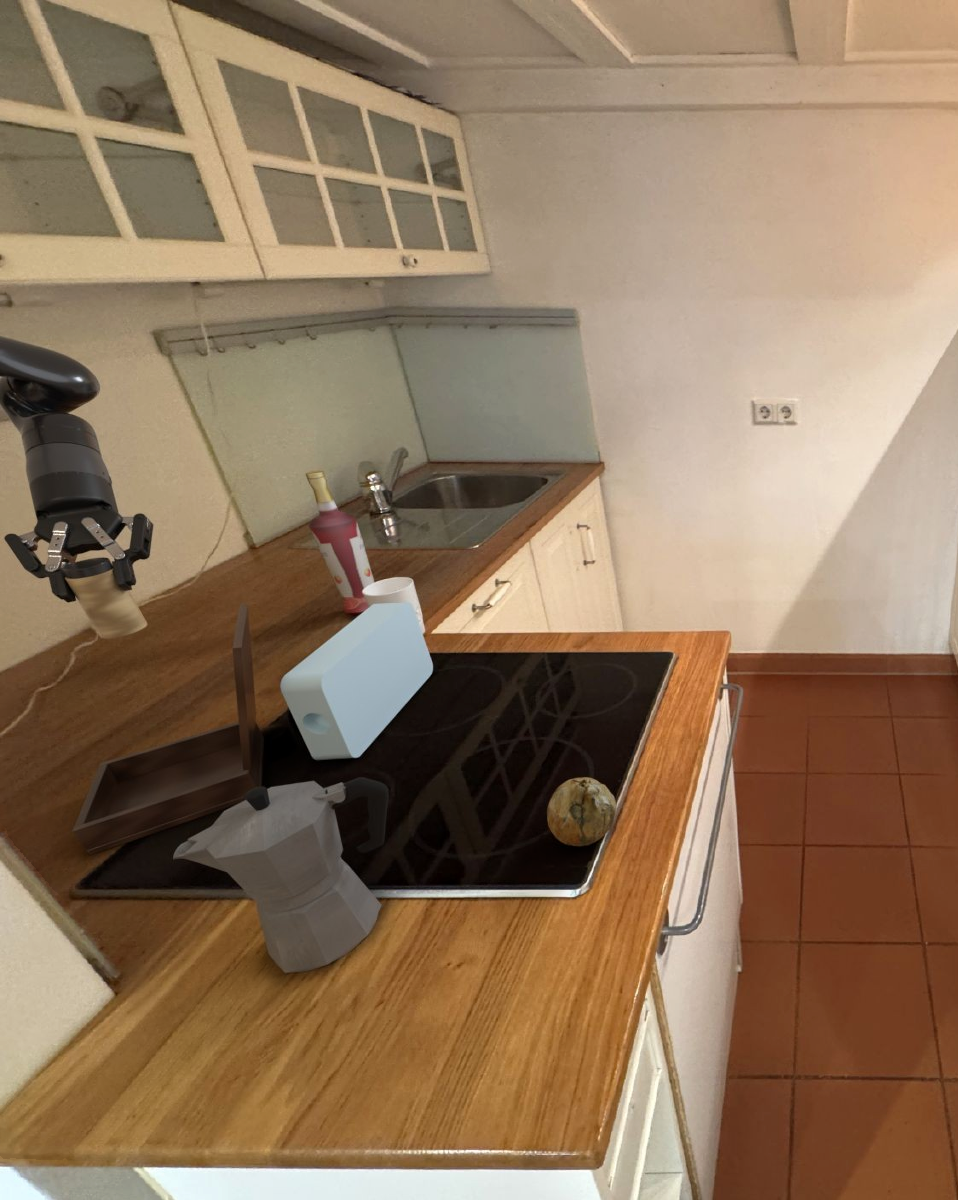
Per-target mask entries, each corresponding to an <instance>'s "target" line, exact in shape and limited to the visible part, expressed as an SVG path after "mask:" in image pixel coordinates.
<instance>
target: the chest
mask: <svg viewBox="0 0 958 1200" xmlns="http://www.w3.org/2000/svg"><path fill="white" fill-rule="evenodd" d="M264 750H265V737H264V735H263V733H262V730H261V729H260V727H259V724H258V723H257V721H256V722H255V734H254V745H253V757H252V768H251V769H248V770H243V765H242V754H241V742H240V731H239V721H236V722H234V723H231V724H227V725H224V726H221V727H217V728H213V729H209V730H206V731H202V732H200V733H196V734H193V735H190V736H186V737H183V738H180V739H176V740H173V741H170V742H165V743H163V744H160V745H157V746H153V747H150V748H146V749H143V750H139V751H137V752H133V753H129V754H126V755H123V756H119V757H116V758H113V759H109V760H106V761H103V762H100V763H99V765H98V768H97V770H96V773H95V776H94V777H93V779H92V782H91V785H90V788H89V790H88V792H87V795H86V797H85V800H84V802H83V805H82V806H81V809H80V812H79V814H78V817H77V819H76V822H75V824H74V826H73V828H72V831H71V832H72V833H73V835H74V837H75V838H76V839H77V840H78V842H79V843H80V844H81V846H82V847H83V849H84V850H85V851H86V853H87V854H88V855H89V856H94V855H96V854H98V853H102V852H105V851H108V850H111V849H113V848H116V847H118V846H119V847H120V846H122V845H125V844H128V843H130V842H134V841H137V840H139V839H142V838H144V837H147V836H151V835H153V834H156V833H160V832H162V831H165V830H168V829H170V828H173V827H176V826H180V825H182V824H185V823H187V822H191V821H193V820H197V819H199V818H202V817H205V816H207V815H210V814H214V813H216V812H220V811H222V810H226V809H229V808H231V807H233V806H235V805H237V804H239V803H241V802H243V801H245V800H246V799H245V798H244V797H243V796H244V795H245V794H246V793H247V792H248V791H250V790H252V789H254V788H256V787H262V784H263V769H264V754H265V753H264V752H265V751H264Z"/></svg>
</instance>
